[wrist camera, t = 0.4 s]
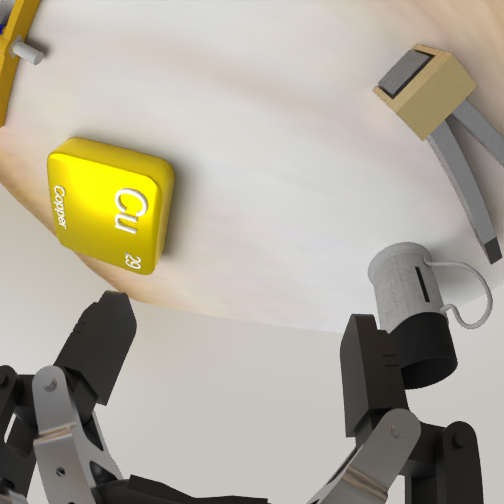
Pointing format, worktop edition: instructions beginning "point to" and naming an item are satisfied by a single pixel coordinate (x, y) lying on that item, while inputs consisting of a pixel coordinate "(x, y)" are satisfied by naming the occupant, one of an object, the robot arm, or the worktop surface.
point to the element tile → (110, 202)
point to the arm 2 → (480, 129)
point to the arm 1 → (465, 188)
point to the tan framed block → (431, 92)
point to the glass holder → (417, 312)
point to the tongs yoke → (404, 72)
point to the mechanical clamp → (15, 48)
